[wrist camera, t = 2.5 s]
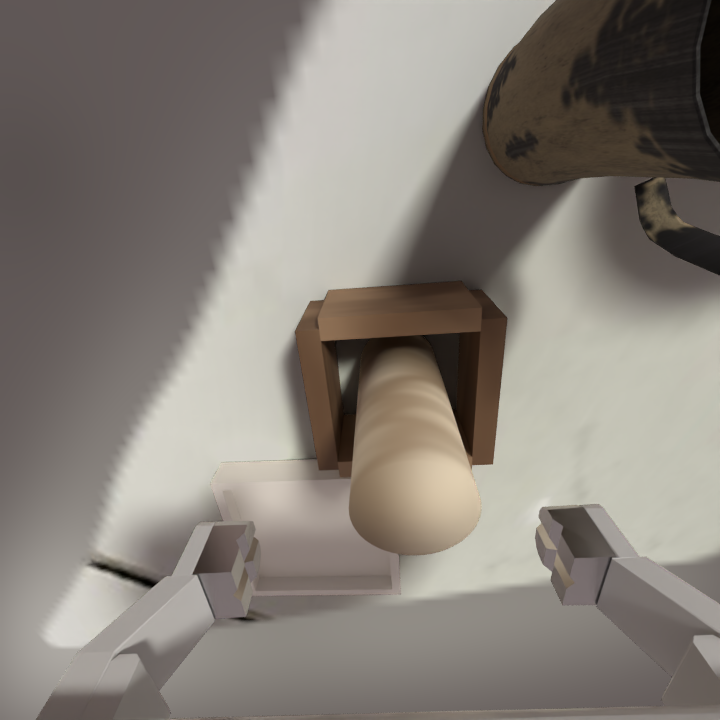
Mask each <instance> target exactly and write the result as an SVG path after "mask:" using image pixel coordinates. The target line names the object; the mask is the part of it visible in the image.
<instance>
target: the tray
mask: <svg viewBox="0 0 720 720" xmlns="http://www.w3.org/2000/svg"><path fill="white" fill-rule="evenodd" d="M210 485H211V488H212V491H213V494H214V496H215V499H216V502H217V505H218V508H219V511H220V514H221V516H222V519H223V521H253V523H254V526H255V529H256V530H255V534H254V537H255V538H256V539H258V540H259V543H260V549H261V559H260V567H259V571H258V575H257V577H256V578H255V579H254V580H253V581H252V582H251V586H252V590H253V594H252V596H306V595H391V594H401V587H400V568H399V554H396V553H391V552H388V551H385V550H382V549H380V548H377V547H375V546H374V545H372V544H370V543H369V542H367V541H366V540H365V539H363V538H362V537H361V536H360V535H359V534H358V532H357V531H356V530H355V528H354V527H353V525H352V522H351V520H350V516H349V498H350V485H351V477H340V475H339V470H319V468H318V462H317V459H306V460H279V461H253V462H226V463H221V464H220V466H219V468H218V470H217V471H216V473H215V475H214V477H213V479H212V481H211V483H210Z"/></svg>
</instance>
